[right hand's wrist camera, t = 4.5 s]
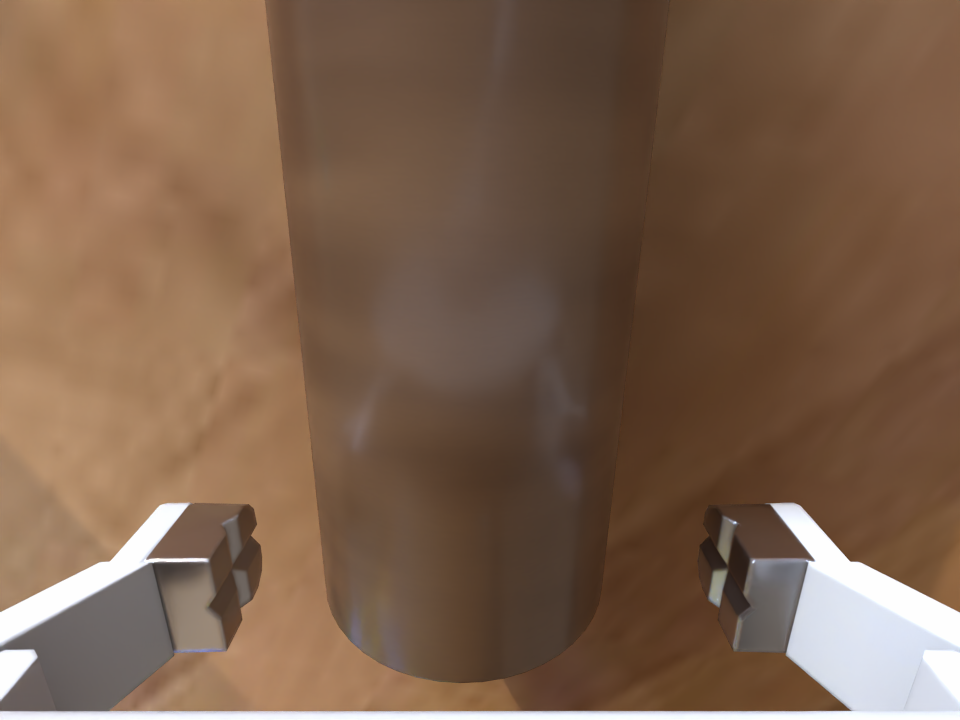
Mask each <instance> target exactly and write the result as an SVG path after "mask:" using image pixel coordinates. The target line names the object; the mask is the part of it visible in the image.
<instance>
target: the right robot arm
mask: <svg viewBox="0 0 960 720" xmlns="http://www.w3.org/2000/svg"><path fill="white" fill-rule="evenodd" d="M256 525H257V522H256V517H255V512H254V509H253V508H252V507H251V506H250V505H249V504H214V503H194V504H193V503H166V504H163V505H160V506H159V507H158V508H157V509H156V510H155V511H154V512H153V514H152V515H151V516H150V517H149V518H148V519H147V520H146V522H145V523H144V524H143V525H142V526H141V527H140V528H139V529H138V531H137V532H136V533H135V534H134V535H133V536H132V537H131V538H130V540H129V541H128V542H127V543H126V544H125V545H124V546H123V548H122V549H121V550H120V551H119V552H118V553H117V554H116V555H115V557H114V558H113V559H112V560H111V561H110V562H100V563H98V564H96V565H94V566H92V567H90V568H88V569H86V570H84V571H82V572H80V573H78V574H76V575H74V576H72V577H70V578H68V579H66V580H64V581H62V582H60V583H58V584H56V585H54V586H52V587H50V588H48V589H46V590H44V591H42V592H40V593H38V594H36V595H34V596H32V597H30V598H28V599H26V600H24V601H22V602H20V603H18V604H16V605H14V606H12V607H10V608H8V609H6V610H4V611H2V612H0V720H960V612H958V611H956V610H954V609H952V608H950V607H948V606H946V605H944V604H942V603H940V602H938V601H936V600H934V599H932V598H930V597H928V596H926V595H924V594H922V593H920V592H918V591H916V590H914V589H912V588H910V587H908V586H906V585H904V584H902V583H900V582H898V581H896V580H894V579H892V578H890V577H888V576H886V575H884V574H882V573H880V572H878V571H876V570H874V569H872V568H870V567H868V566H866V565H864V564H862V563H860V562H850V561H849V560H848V559H847V558H846V557H845V555H844V554H843V553H842V552H841V551H840V550H839V549H838V548H837V546H836V545H835V544H834V543H833V542H832V541H831V540H830V538H829V537H828V536H827V535H826V534H825V533H824V532H823V531H822V529H821V528H820V527H819V526H818V525H817V524H816V523H815V522H814V520H813V519H812V518H811V517H810V516H809V515H808V514H807V512H806V511H805V510H804V509H803V508H802V507H801V506H800V505H798V504H796V503H766V504H740V505H709V506H708V508H707V510H706V512H705V516H704V522H703V525H704V527H705V529H706V531H707V532H708V534H709V536H708V537H707V538H706V539H705V540H704V541H703V542H702V543H701V544H700V546H699V555H698V570H699V578H700V582H701V585H702V589H703V591H704V593H705V595H706V597H707V599H708V600H709V601H710V602H712V603H713V604H714V605H716V606H717V607H719V608H720V609H719V614H718V622H719V624H720V626H721V627H722V629H723V631H724V633H725V635H726V637H727V639H728V641H729V643H730V645H731V647H732V649H733V651H740V652H775V653H786V656H787V657H788V658H789V659H791V660H792V661H793V662H794V663H795V664H797V665H798V666H799V667H800V668H801V669H803V670H804V671H805V672H806V673H807V674H808V675H810V676H811V677H812V678H813V679H814V680H816V681H817V682H818V683H819V684H820V685H821V686H823V687H824V688H825V689H826V690H827V691H829V692H830V693H831V694H832V695H833V696H834V697H836V698H837V699H838V700H839V701H840V702H842V703H843V704H844V705H845V706H846V707H848V708H849V709H850V710H851V711H109V710H110V709H111V708H113V707H114V706H115V705H116V704H117V703H119V702H120V701H121V700H122V699H123V698H125V697H126V696H127V695H128V694H129V693H130V692H132V691H133V690H134V689H135V688H136V687H138V686H139V685H140V684H141V683H142V682H143V681H145V680H146V679H147V678H148V677H149V676H151V675H152V674H153V673H154V672H155V671H157V670H158V669H159V668H160V667H161V666H162V665H164V664H165V663H166V662H167V661H168V660H170V659H171V658H172V657H173V656H174V653H184V652H219V651H227V649H228V647H229V645H230V643H231V641H232V639H233V637H234V635H235V633H236V632H237V630H238V628H239V626H240V624H241V622H242V614H241V609H240V608H241V607H243V606H244V605H246V604H247V603H248V602H250V601H251V600H252V599H253V597H254V595H255V593H256V591H257V589H258V586H259V581H260V577H261V572H262V553H261V546H260V544H259V543H258V542H257V541H256V540H255V539H254V538H253V537H252V536H251V534H252V532H253V531H254V529H255V527H256Z"/></svg>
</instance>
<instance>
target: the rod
mask: <svg viewBox="0 0 960 720" xmlns="http://www.w3.org/2000/svg"><path fill="white" fill-rule="evenodd" d="M669 2H670V0H265V4H266V14H267V24H268V33H269V43H270V53H271V62H272V72H273V82H274V91H275V101H276V111H277V120H278V130H279V140H280V149H281V159H282V168H283V178H284V188H285V197H286V207H287V217H288V226H289V236H290V246H291V255H292V265H293V275H294V284H295V294H296V304H297V313H298V323H299V333H300V342H301V352H302V362H303V371H304V381H305V391H306V400H307V410H308V419H309V429H310V439H311V448H312V458H313V468H314V477H315V487H316V497H317V506H318V516H319V526H320V535H321V545H322V555H323V564H324V574H325V584H326V592H327V600H328V604H329V607H330V610H331V613H332V615H333V617H334V619H335V620H336V622H337V624H338V626H339V628H340V629H341V630H342V631H343V632H344V634H345V635H346V636H347V637H348V639H349V640H350V641H351V642H352V643H353V644H354V645H356V646H357V647H358V648H359V649H360V650H361V651H362V652H363V653H365V654H366V655H368V656H370V657H371V658H373V659H374V660H376V661H377V662H379V663H381V664H383V665H385V666H387V667H389V668H392V669H394V670H396V671H398V672H402V673H405V674H408V675H411V676H414V677H418V678H423V679H428V680H433V681H440V682H454V683H470V682H485V681H491V680H497V679H504V678H507V677H511V676H514V675H518V674H521V673H524V672H527V671H529V670H531V669H534V668H536V667H538V666H541V665H543V664H545V663H546V662H548V661H550V660H551V659H553V658H555V657H556V656H558V655H560V654H561V653H562V652H563V651H565V650H566V649H567V648H568V647H570V646H571V645H572V644H573V643H574V642H575V641H576V640H577V639H578V638H579V636H580V635H581V634H582V633H583V632H584V631H585V629H586V628H587V626H588V625H589V623H590V622H591V620H592V618H593V617H594V614H595V612H596V609H597V607H598V604H599V599H600V594H601V588H602V580H603V571H604V563H605V554H606V545H607V537H608V528H609V519H610V511H611V502H612V494H613V485H614V476H615V468H616V459H617V450H618V442H619V433H620V425H621V416H622V407H623V399H624V390H625V381H626V373H627V364H628V356H629V347H630V338H631V330H632V321H633V312H634V304H635V295H636V287H637V278H638V269H639V261H640V252H641V243H642V235H643V226H644V218H645V209H646V200H647V192H648V183H649V175H650V166H651V157H652V149H653V140H654V131H655V123H656V114H657V106H658V97H659V88H660V80H661V71H662V62H663V54H664V45H665V37H666V28H667V19H668V11H669Z"/></svg>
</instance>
